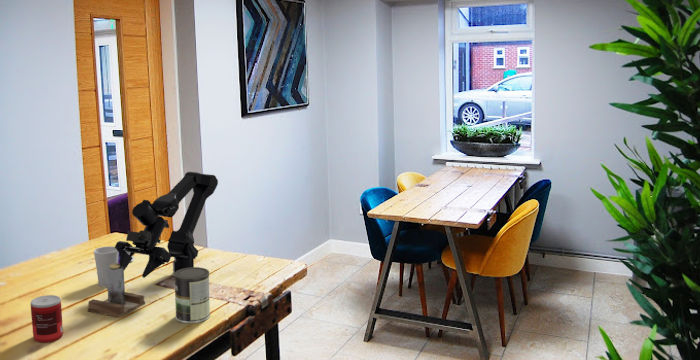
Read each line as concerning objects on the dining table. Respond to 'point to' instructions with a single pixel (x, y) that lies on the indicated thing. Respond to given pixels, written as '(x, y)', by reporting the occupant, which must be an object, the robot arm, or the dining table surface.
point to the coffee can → (192, 295)
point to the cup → (104, 262)
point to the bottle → (116, 284)
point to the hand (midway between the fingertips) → (131, 275)
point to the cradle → (117, 305)
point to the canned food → (46, 318)
